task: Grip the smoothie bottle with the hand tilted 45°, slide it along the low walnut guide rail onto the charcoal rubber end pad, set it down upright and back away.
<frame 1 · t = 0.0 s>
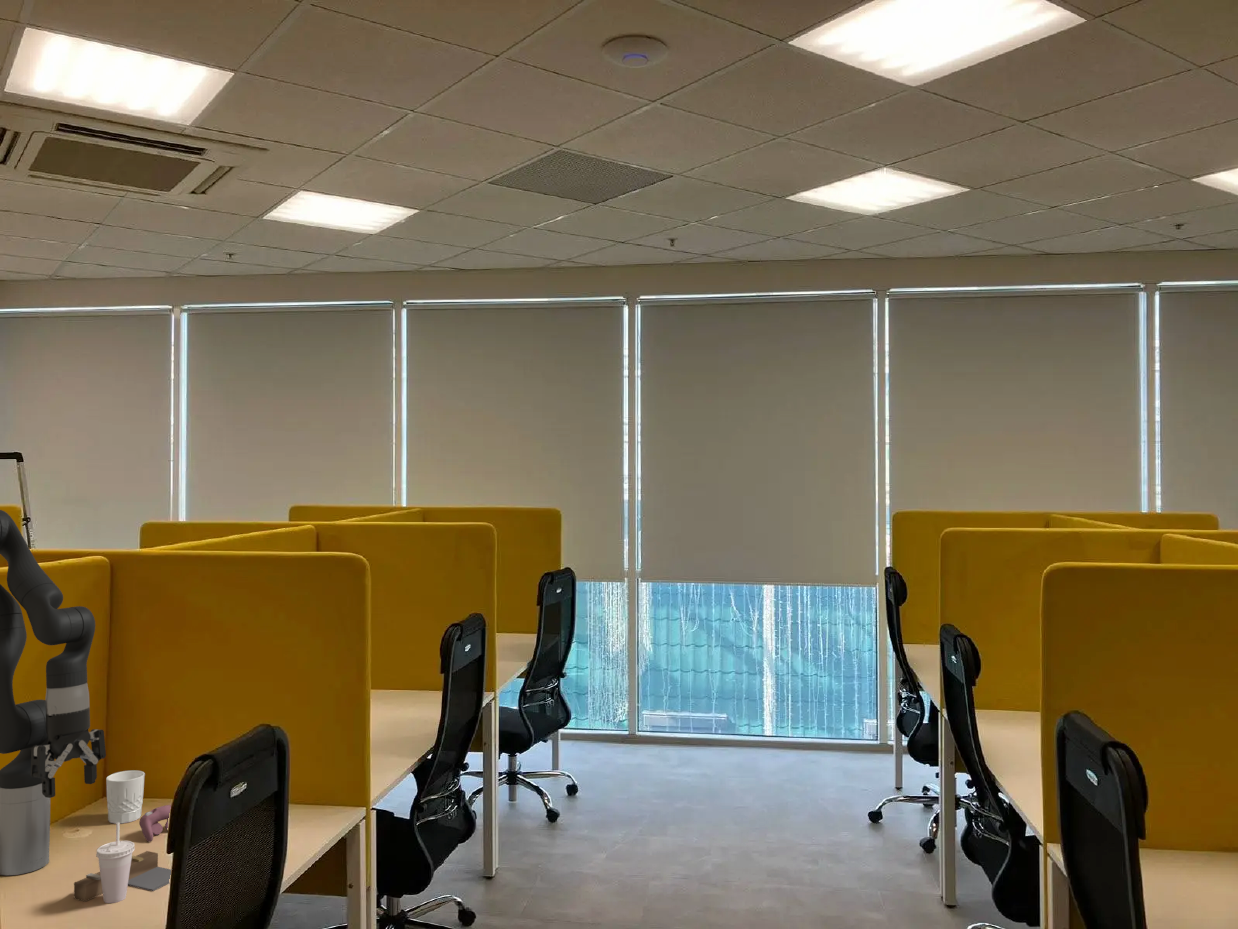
hand: (70, 790, 180), 17 cm above the table, tool pointing down, fingers open, 8 cm apart
smoothie: (114, 899, 170), on the table
guide rail: (117, 883, 177), on the table
end pad: (155, 879, 179), on the table
video game controller: (164, 834, 202), on the table
white cup: (124, 819, 211), on the table
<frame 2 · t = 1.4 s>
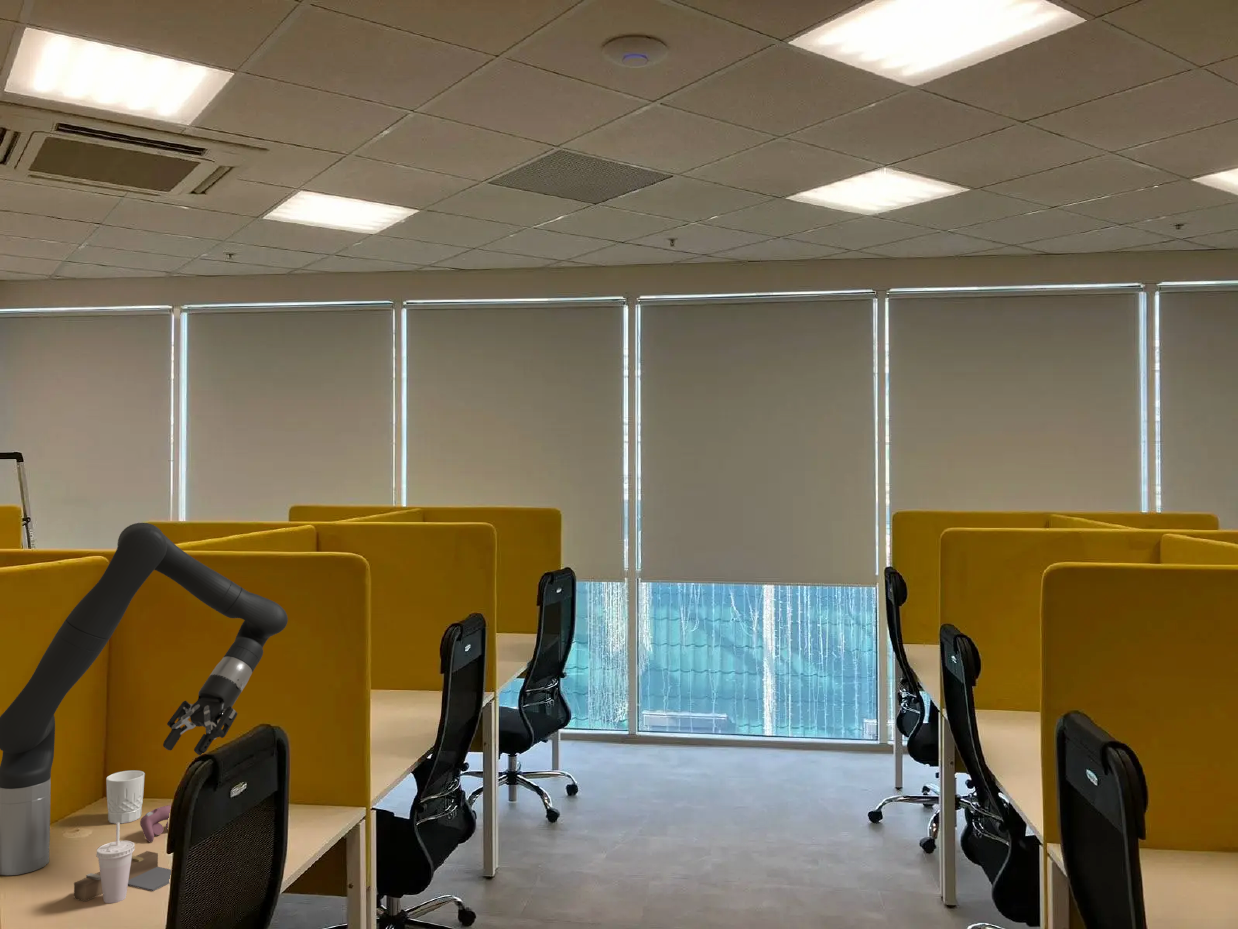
hand: (182, 750, 185), 24 cm above the table, tool tilted 45°, fingers open, 8 cm apart
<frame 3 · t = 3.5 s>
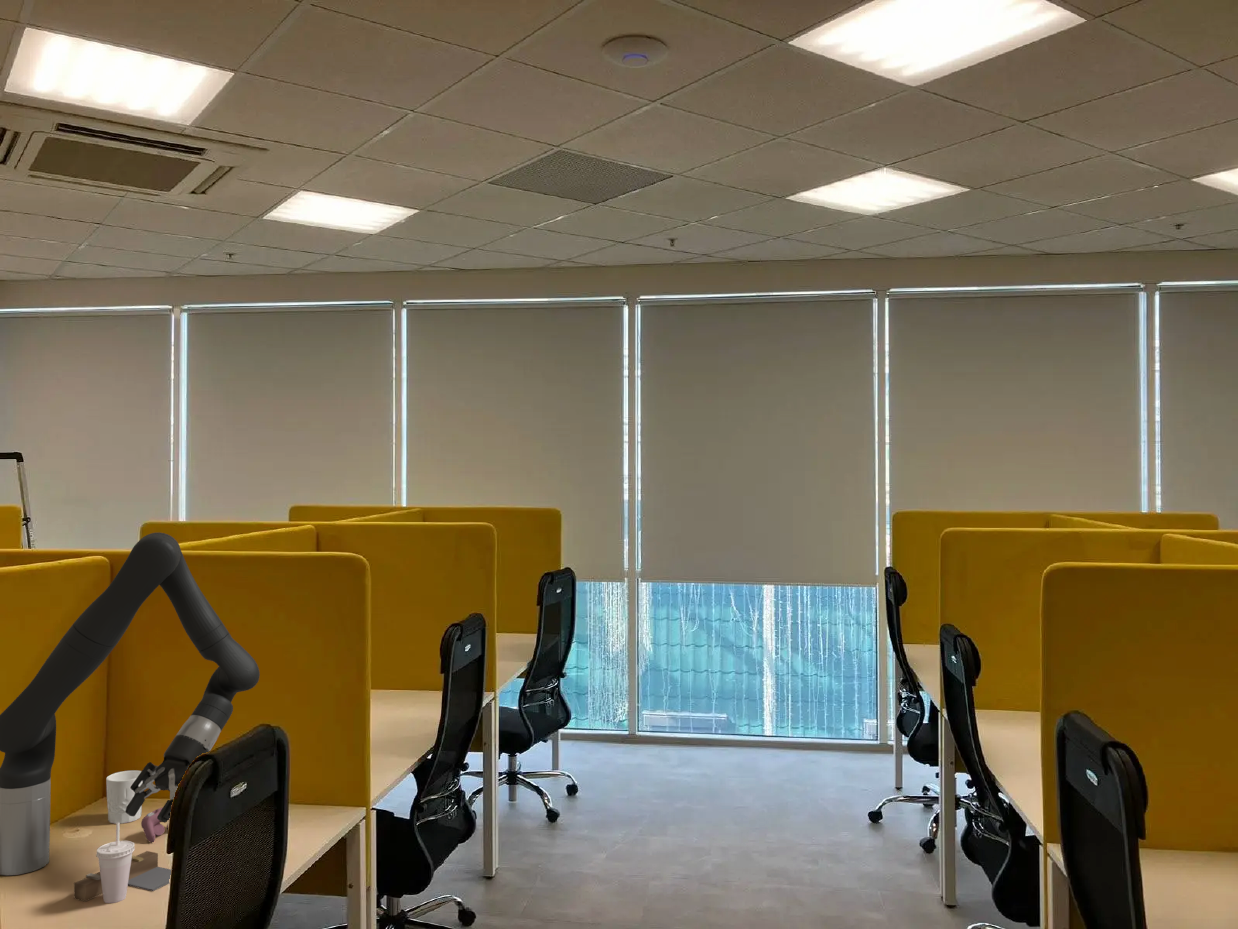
hand: (145, 817, 177), 13 cm above the table, tool tilted 45°, fingers open, 8 cm apart
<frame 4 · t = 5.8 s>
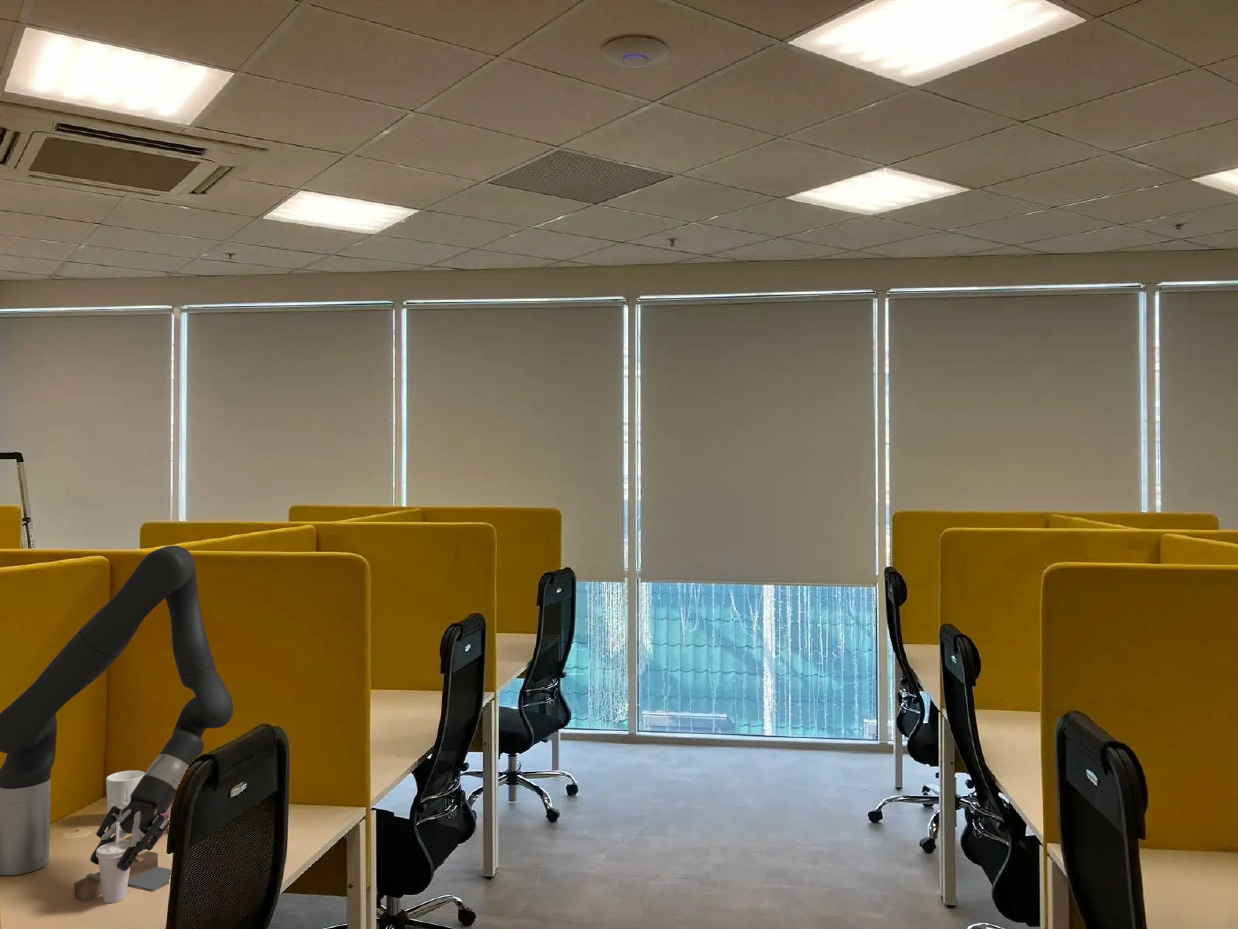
hand: (107, 865, 169), 7 cm above the table, tool tilted 45°, fingers closed on smoothie, 6 cm apart
smoothie: (114, 899, 170), on the table, touching gripper
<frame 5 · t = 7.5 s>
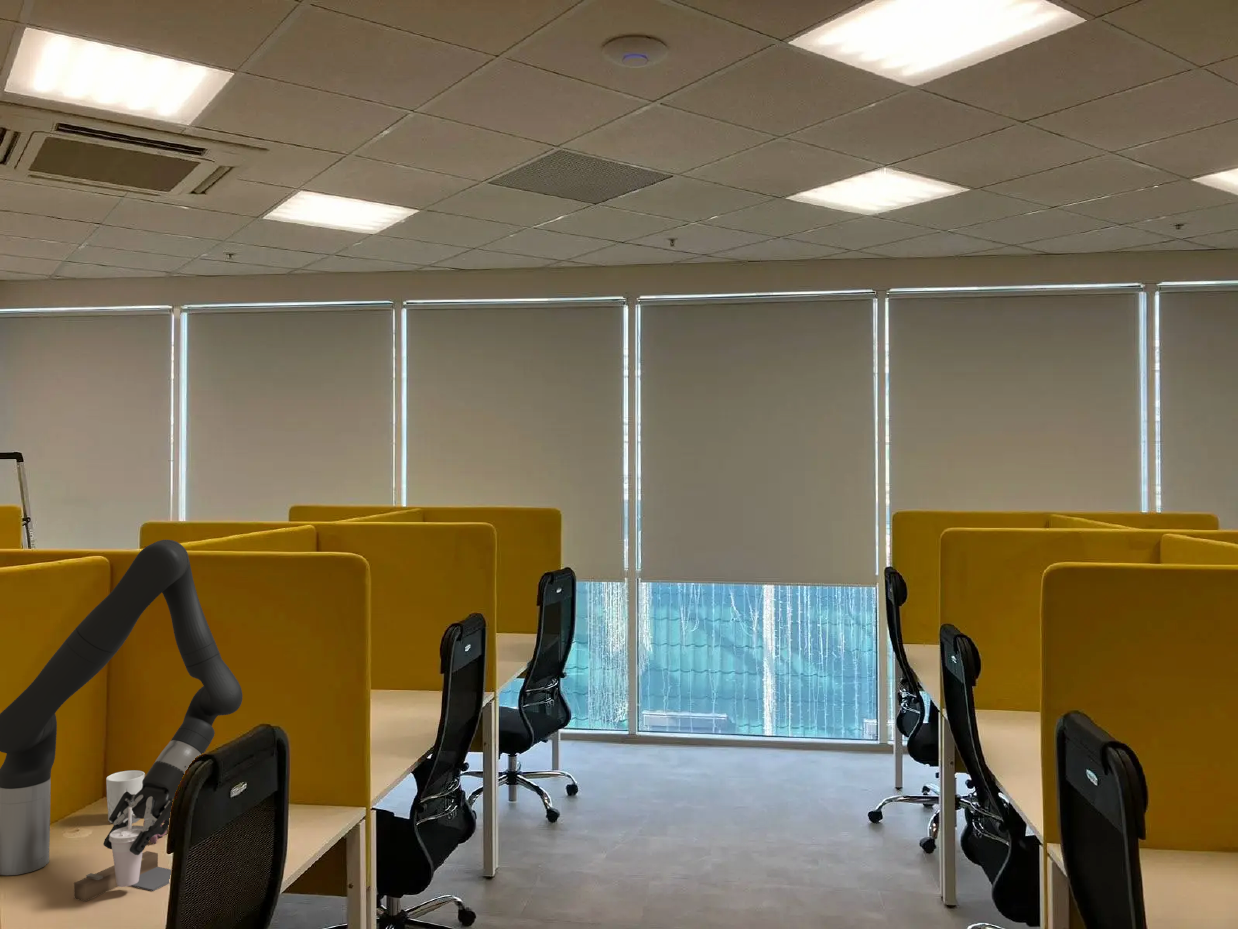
hand: (120, 850, 172), 9 cm above the table, tool tilted 45°, fingers closed on smoothie, 6 cm apart
smoothie: (127, 883, 173), point 2 cm above the table, touching gripper
when the fingers open (8 cm above the table, at t = 9.5 s): smoothie stays where it is, resting on end pad.
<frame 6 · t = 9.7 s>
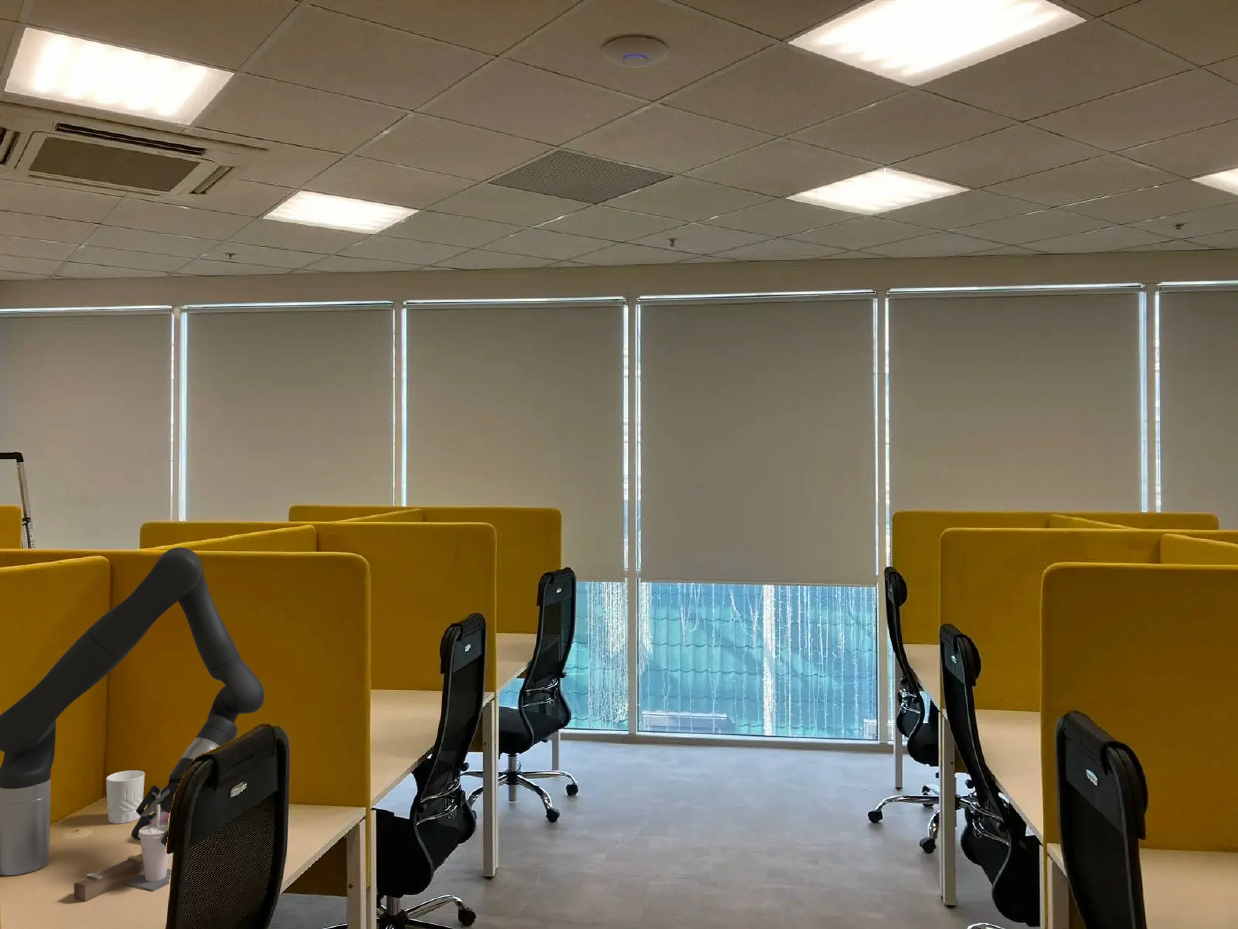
hand: (149, 841, 178), 8 cm above the table, tool tilted 45°, fingers open, 7 cm apart
smoothie: (155, 878, 179), resting on end pad
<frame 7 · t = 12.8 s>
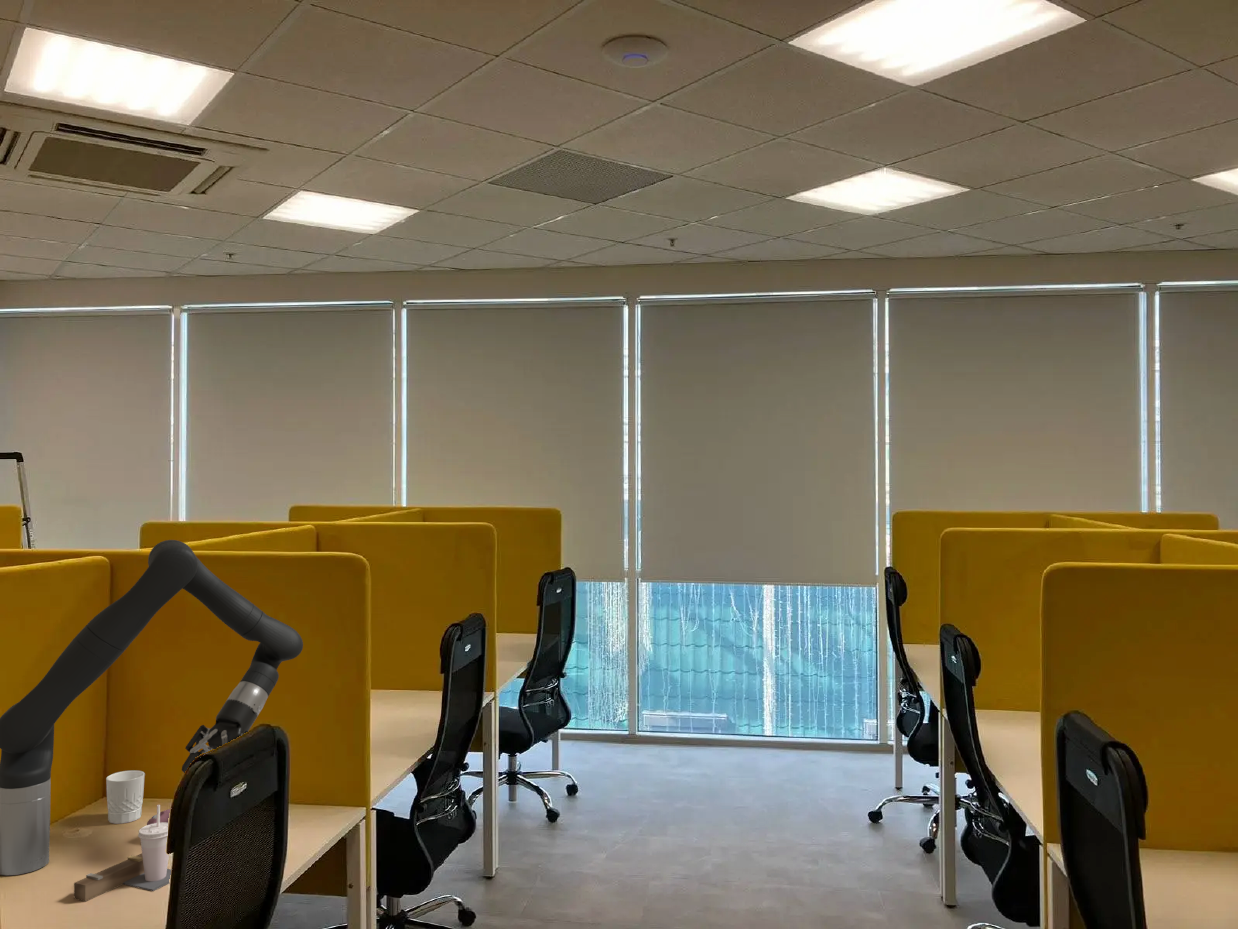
hand: (200, 775, 189), 17 cm above the table, tool tilted 45°, fingers open, 8 cm apart
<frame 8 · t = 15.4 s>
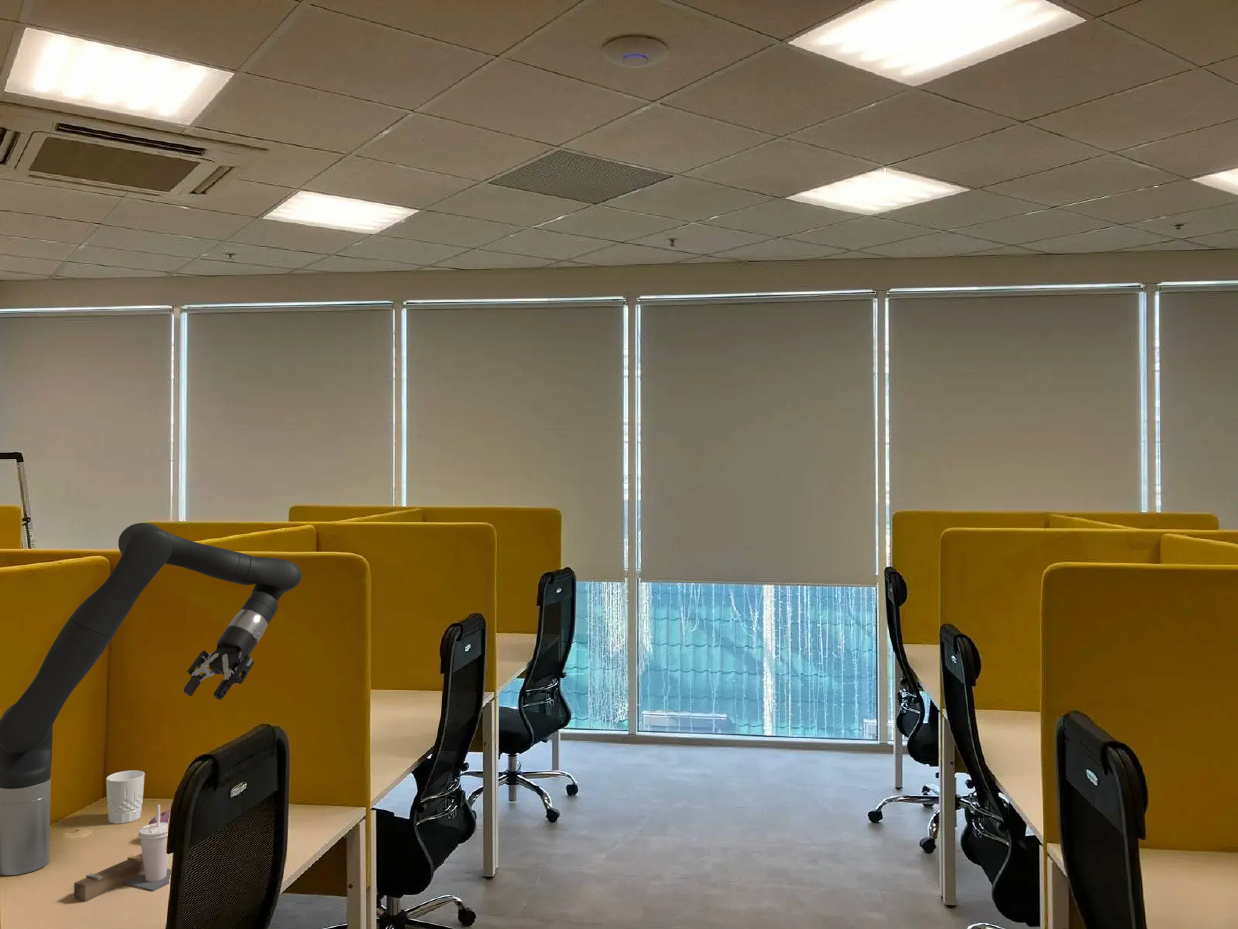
hand: (201, 695, 195), 33 cm above the table, tool tilted 45°, fingers open, 8 cm apart
at the end: smoothie inside the target area (0.2 cm from its centre), resting on end pad; smoothie tilted 0°; the gripper is holding nothing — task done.
